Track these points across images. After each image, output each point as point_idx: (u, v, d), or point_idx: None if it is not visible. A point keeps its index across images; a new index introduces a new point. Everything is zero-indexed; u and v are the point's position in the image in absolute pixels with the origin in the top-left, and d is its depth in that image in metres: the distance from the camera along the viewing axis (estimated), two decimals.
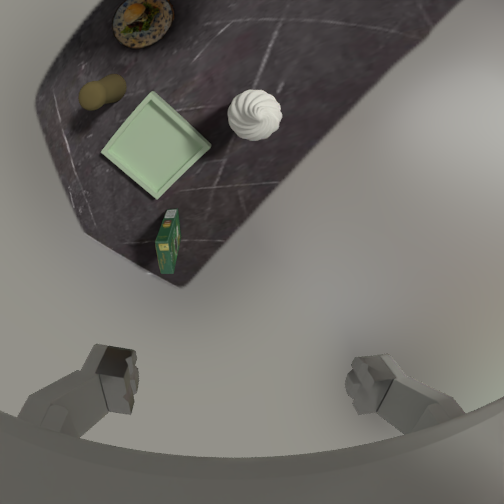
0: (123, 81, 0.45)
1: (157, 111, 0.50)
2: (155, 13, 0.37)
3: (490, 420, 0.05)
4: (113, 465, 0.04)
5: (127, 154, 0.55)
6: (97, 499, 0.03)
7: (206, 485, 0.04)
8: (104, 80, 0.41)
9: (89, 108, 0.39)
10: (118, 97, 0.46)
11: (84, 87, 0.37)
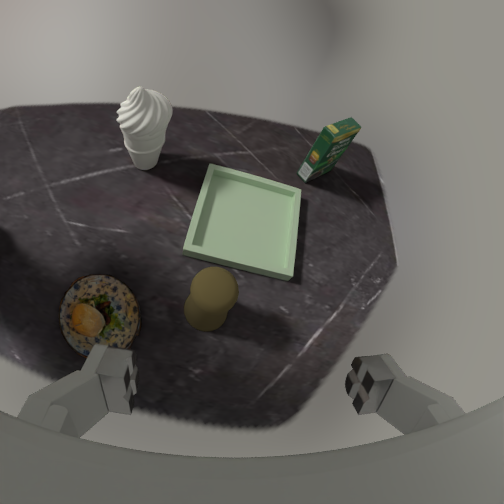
0: (188, 296, 0.40)
1: (203, 235, 0.44)
2: (82, 300, 0.34)
3: (490, 420, 0.05)
4: (113, 465, 0.04)
5: (276, 246, 0.46)
6: (97, 499, 0.03)
7: (206, 485, 0.04)
8: (191, 303, 0.34)
9: (232, 279, 0.31)
10: None
11: (205, 303, 0.30)
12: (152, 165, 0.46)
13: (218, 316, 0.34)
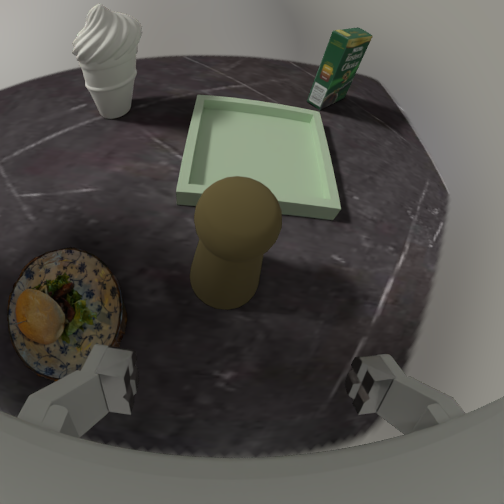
0: None
1: (204, 174, 0.30)
2: None
3: (490, 420, 0.05)
4: (113, 465, 0.04)
5: (306, 177, 0.32)
6: (97, 499, 0.03)
7: (206, 485, 0.04)
8: (201, 258, 0.20)
9: (268, 189, 0.17)
10: None
11: (227, 234, 0.16)
12: (124, 110, 0.32)
13: (250, 271, 0.20)
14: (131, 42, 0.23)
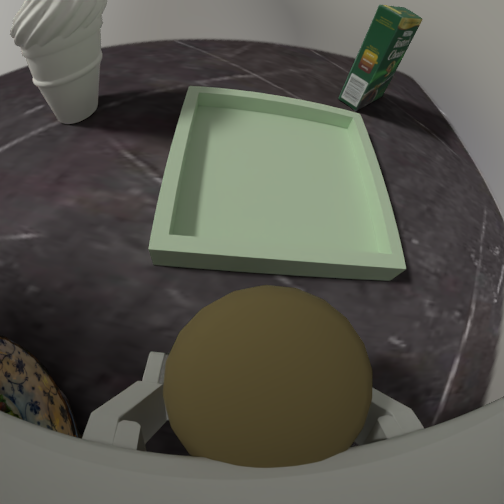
0: None
1: (196, 213, 0.19)
2: None
3: (490, 420, 0.05)
4: (113, 465, 0.04)
5: (351, 213, 0.21)
6: (97, 499, 0.03)
7: (206, 485, 0.04)
8: None
9: (347, 328, 0.06)
10: None
11: None
12: (86, 111, 0.21)
13: None
14: (87, 10, 0.13)
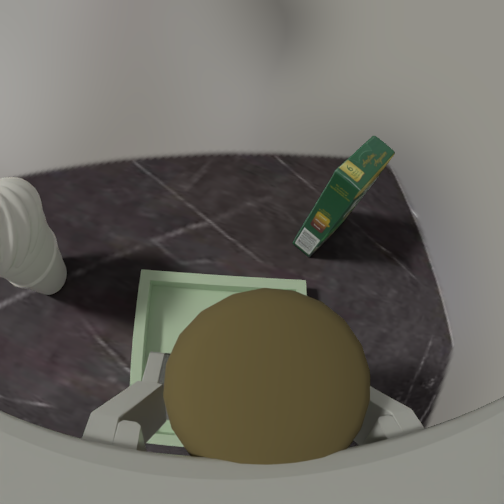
0: None
1: None
2: None
3: (490, 420, 0.05)
4: (112, 465, 0.04)
5: None
6: (97, 499, 0.03)
7: (206, 485, 0.04)
8: None
9: (345, 330, 0.07)
10: None
11: None
12: (58, 287, 0.26)
13: None
14: (26, 247, 0.17)
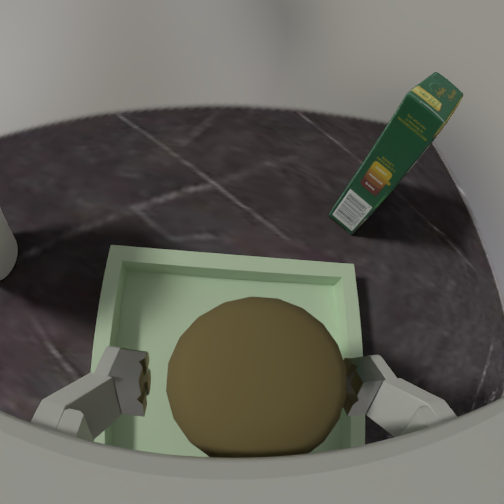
0: None
1: None
2: None
3: (490, 420, 0.05)
4: (113, 465, 0.04)
5: None
6: (97, 499, 0.03)
7: (206, 485, 0.04)
8: None
9: (322, 332, 0.08)
10: None
11: (241, 455, 0.06)
12: (3, 271, 0.16)
13: None
14: None
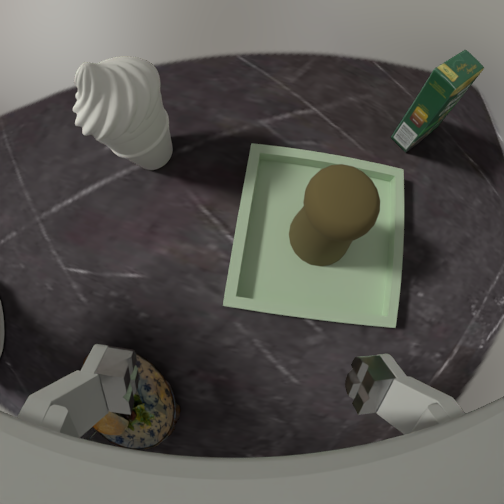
0: None
1: (255, 271, 0.28)
2: None
3: (490, 420, 0.05)
4: (113, 465, 0.04)
5: (370, 274, 0.27)
6: (97, 499, 0.03)
7: (206, 485, 0.04)
8: (304, 228, 0.23)
9: (370, 180, 0.18)
10: None
11: (334, 223, 0.18)
12: (164, 161, 0.30)
13: (346, 243, 0.22)
14: (145, 110, 0.20)
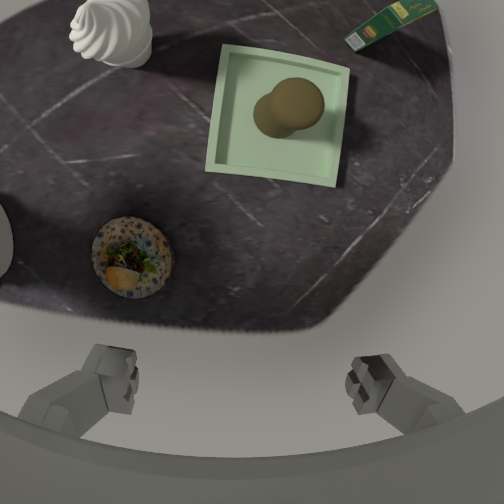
0: (257, 103, 0.32)
1: (227, 143, 0.34)
2: (110, 250, 0.36)
3: (490, 420, 0.05)
4: (113, 465, 0.04)
5: (316, 145, 0.35)
6: (97, 499, 0.03)
7: (206, 485, 0.04)
8: (267, 115, 0.29)
9: (318, 91, 0.24)
10: None
11: (291, 120, 0.24)
12: (145, 60, 0.29)
13: None
14: (140, 35, 0.20)
